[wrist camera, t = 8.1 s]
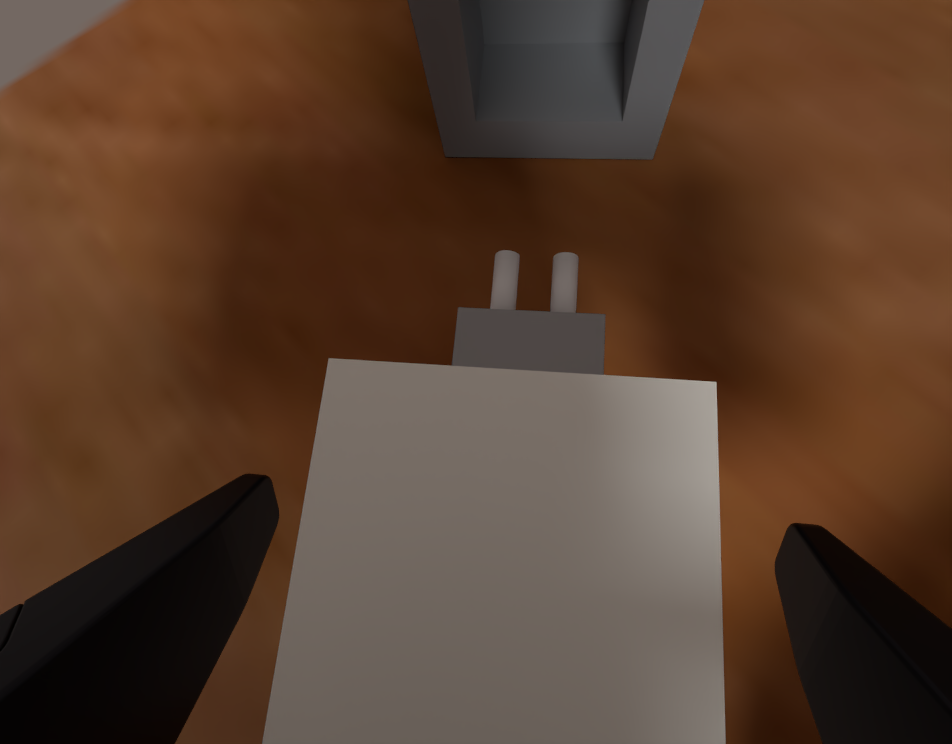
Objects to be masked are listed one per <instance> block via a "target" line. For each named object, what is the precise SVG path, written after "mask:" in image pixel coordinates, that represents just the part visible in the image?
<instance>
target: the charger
mask: <svg viewBox="0 0 952 744" xmlns="http://www.w3.org/2000/svg"><path fill="white" fill-rule="evenodd" d="M519 261H520V255H519V254H518V253H516V252H514V251H510V250H502V251H498V252H497V253H496V254H495V262H494V272H493V283H492V294H491V305H490V309H484V308H463V307H458V313H457V322H456V332H455V341H454V350H453V359H452V366H449V365H432V364H416V363H400V362H383V361H367V360H351V359H334V358H329V359H328V365H327V371H326V377H325V383H324V388H323V394H322V400H321V406H320V411H319V417H318V423H317V429H316V435H315V440H314V446H313V452H312V458H311V464H310V469H309V475H308V481H307V487H306V492H305V498H304V504H303V510H302V516H301V521H300V527H299V533H298V539H297V544H296V550H295V556H294V562H293V568H292V573H291V579H290V585H289V591H288V597H287V602H286V608H285V614H284V620H283V625H282V631H281V637H280V643H279V649H278V654H277V660H276V666H275V672H274V677H273V683H272V689H271V695H270V701H269V706H268V712H267V718H266V724H265V730H264V735H263V741H262V744H726V737H725V697H724V658H723V619H722V580H721V541H720V501H719V462H718V423H717V384H716V382H710V381H694V380H678V379H661V378H645V377H629V376H612V375H604V344H605V314H590V313H576V303H577V282H578V261H579V257H578V256H577V255H576V254H574V253H570V252H561V253H558V254H556V255H554V257H553V270H552V286H551V302H550V312H548V311H527V310H516V299H517V286H518V273H519Z"/></svg>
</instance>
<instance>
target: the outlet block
mask: <svg viewBox="0 0 952 744" xmlns="http://www.w3.org/2000/svg"><path fill="white" fill-rule="evenodd" d="M703 2H704V0H408V3H409V8H410V12H411V16H412V20H413V24H414V28H415V33H416V37H417V41H418V45H419V49H420V53H421V58H422V62H423V66H424V70H425V74H426V78H427V83H428V87H429V91H430V95H431V99H432V103H433V108H434V112H435V116H436V120H437V124H438V128H439V133H440V137H441V141H442V145H443V149H444V153H445V157H496V158H576V159H653V157H654V154H655V151H656V148H657V145H658V142H659V139H660V136H661V133H662V129H663V126H664V123H665V120H666V117H667V114H668V111H669V108H670V105H671V102H672V98H673V95H674V92H675V89H676V86H677V83H678V80H679V77H680V74H681V71H682V68H683V64H684V61H685V58H686V55H687V52H688V49H689V46H690V43H691V40H692V37H693V33H694V30H695V27H696V24H697V21H698V18H699V15H700V12H701V9H702V6H703Z"/></svg>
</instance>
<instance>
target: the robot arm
mask: <svg viewBox="0 0 952 744" xmlns="http://www.w3.org/2000/svg"><path fill="white" fill-rule="evenodd" d="M278 520H279V508H278V504H277V500H276V496H275V492H274V488H273V484H272V481H271V479H270V478H269V477H268V476H266V475H259V474H244V475H242V476H240V477H238V478H236V479H235V480H233V481H231V482H229V483H228V484H226V485H224V486H223V487H221V488H219V489H217V490H216V491H214V492H212V493H210V494H209V495H207V496H205V497H204V498H202V499H200V500H198V501H197V502H195V503H193V504H191V505H190V506H188V507H186V508H185V509H183V510H181V511H179V512H178V513H176V514H174V515H172V516H171V517H169V518H167V519H166V520H164V521H162V522H160V523H159V524H157V525H155V526H153V527H152V528H150V529H148V530H147V531H145V532H143V533H141V534H140V535H138V536H136V537H134V538H133V539H131V540H129V541H128V542H126V543H124V544H122V545H121V546H119V547H117V548H115V549H114V550H112V551H110V552H109V553H107V554H105V555H103V556H102V557H100V558H98V559H96V560H95V561H93V562H91V563H89V564H88V565H86V566H84V567H83V568H81V569H79V570H77V571H76V572H74V573H72V574H70V575H69V576H67V577H65V578H64V579H62V580H60V581H58V582H57V583H55V584H53V585H51V586H50V587H48V588H46V589H44V590H43V591H41V592H39V593H38V594H36V595H34V596H32V597H31V598H29V599H27V600H26V601H25V603H24V605H23V604H18V605H17V606H15V607H13V608H11V609H10V610H8V611H6V612H5V613H3V614H1V615H0V744H175V742H176V740H177V738H178V736H179V735H180V733H181V731H182V729H183V727H184V725H185V723H186V721H187V719H188V717H189V715H190V713H191V711H192V709H193V707H194V705H195V703H196V701H197V700H198V698H199V696H200V694H201V692H202V690H203V688H204V686H205V684H206V682H207V680H208V678H209V676H210V674H211V672H212V670H213V668H214V666H215V664H216V663H217V661H218V659H219V657H220V655H221V653H222V651H223V649H224V647H225V645H226V643H227V641H228V639H229V637H230V635H231V633H232V631H233V629H234V627H235V626H236V624H237V622H238V620H239V618H240V616H241V614H242V611H243V609H244V607H245V605H246V603H247V601H248V598H249V596H250V594H251V591H252V589H253V586H254V583H255V581H256V578H257V576H258V573H259V571H260V568H261V565H262V563H263V560H264V558H265V555H266V553H267V550H268V547H269V545H270V542H271V540H272V537H273V535H274V532H275V529H276V527H277V524H278ZM775 575H776V580H777V584H778V589H779V593H780V597H781V602H782V606H783V610H784V615H785V619H786V623H787V628H788V632H789V636H790V641H791V645H792V649H793V654H794V658H795V662H796V666H797V669H798V673H799V676H800V679H801V683H802V686H803V689H804V692H805V695H806V698H807V700H808V703H809V706H810V709H811V712H812V715H813V718H814V720H815V723H816V726H817V729H818V732H819V735H820V738H821V741H822V743H823V744H952V629H951V628H950V627H949V626H947V625H946V624H945V623H944V622H942V621H941V620H940V619H939V618H937V617H936V616H935V615H934V614H932V613H931V612H930V611H929V610H927V609H926V608H925V607H923V606H922V605H921V604H920V603H918V602H917V601H916V600H915V599H913V598H912V597H911V596H910V595H908V594H907V593H906V592H905V591H903V590H902V589H901V588H899V587H898V586H897V585H896V584H894V583H893V582H892V581H891V580H889V579H888V578H887V577H886V576H884V575H883V574H882V573H881V572H879V571H878V570H877V569H876V568H874V567H873V566H872V565H870V564H869V563H868V562H867V561H865V560H864V559H863V558H862V557H860V556H859V555H858V554H857V553H855V552H854V551H853V550H852V549H850V548H849V547H848V546H846V545H845V544H844V543H843V542H841V541H840V540H839V539H838V538H836V537H835V536H834V535H833V534H831V533H830V532H829V531H828V530H826V529H825V528H823V527H822V526H819V525H813V524H802V523H793V524H791V525H790V526H789V527H788V528H787V530H786V533H785V536H784V538H783V541H782V544H781V546H780V549H779V552H778V554H777V557H776V560H775Z"/></svg>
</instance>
